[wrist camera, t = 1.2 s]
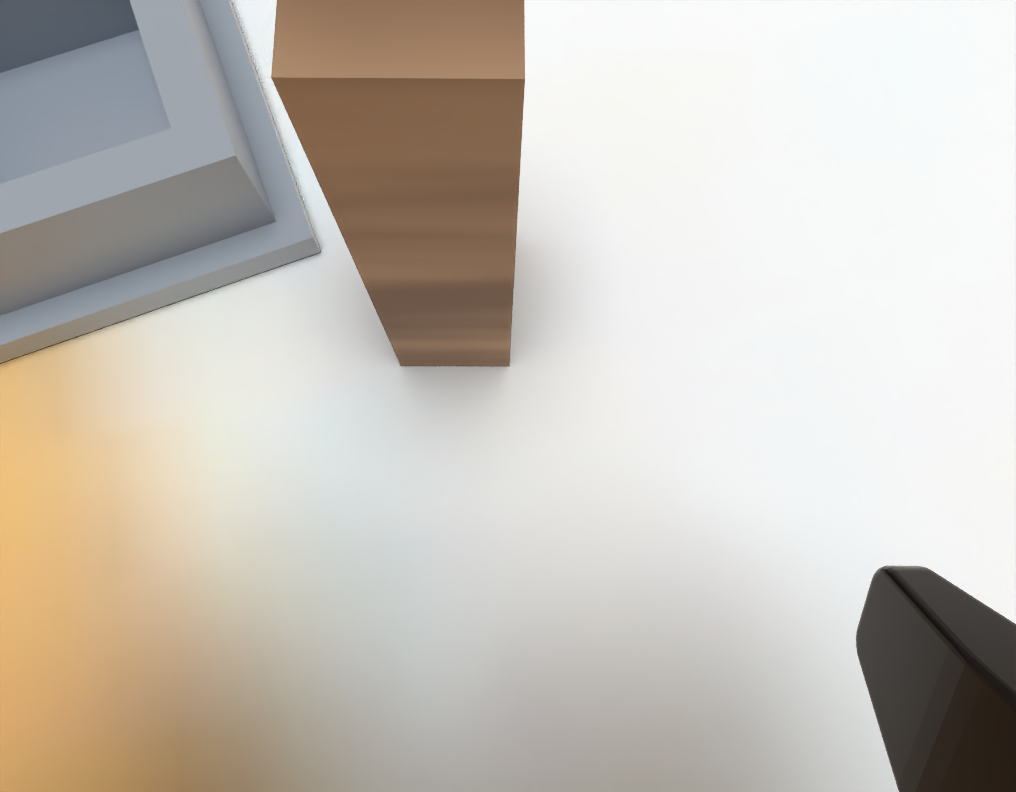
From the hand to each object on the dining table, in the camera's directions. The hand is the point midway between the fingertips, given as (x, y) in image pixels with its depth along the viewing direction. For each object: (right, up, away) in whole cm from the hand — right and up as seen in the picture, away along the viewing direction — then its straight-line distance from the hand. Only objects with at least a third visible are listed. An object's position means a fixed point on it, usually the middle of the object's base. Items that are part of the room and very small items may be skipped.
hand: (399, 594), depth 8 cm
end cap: (-11, +9, +16) cm, 21 cm away
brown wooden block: (0, +5, +15) cm, 16 cm away
